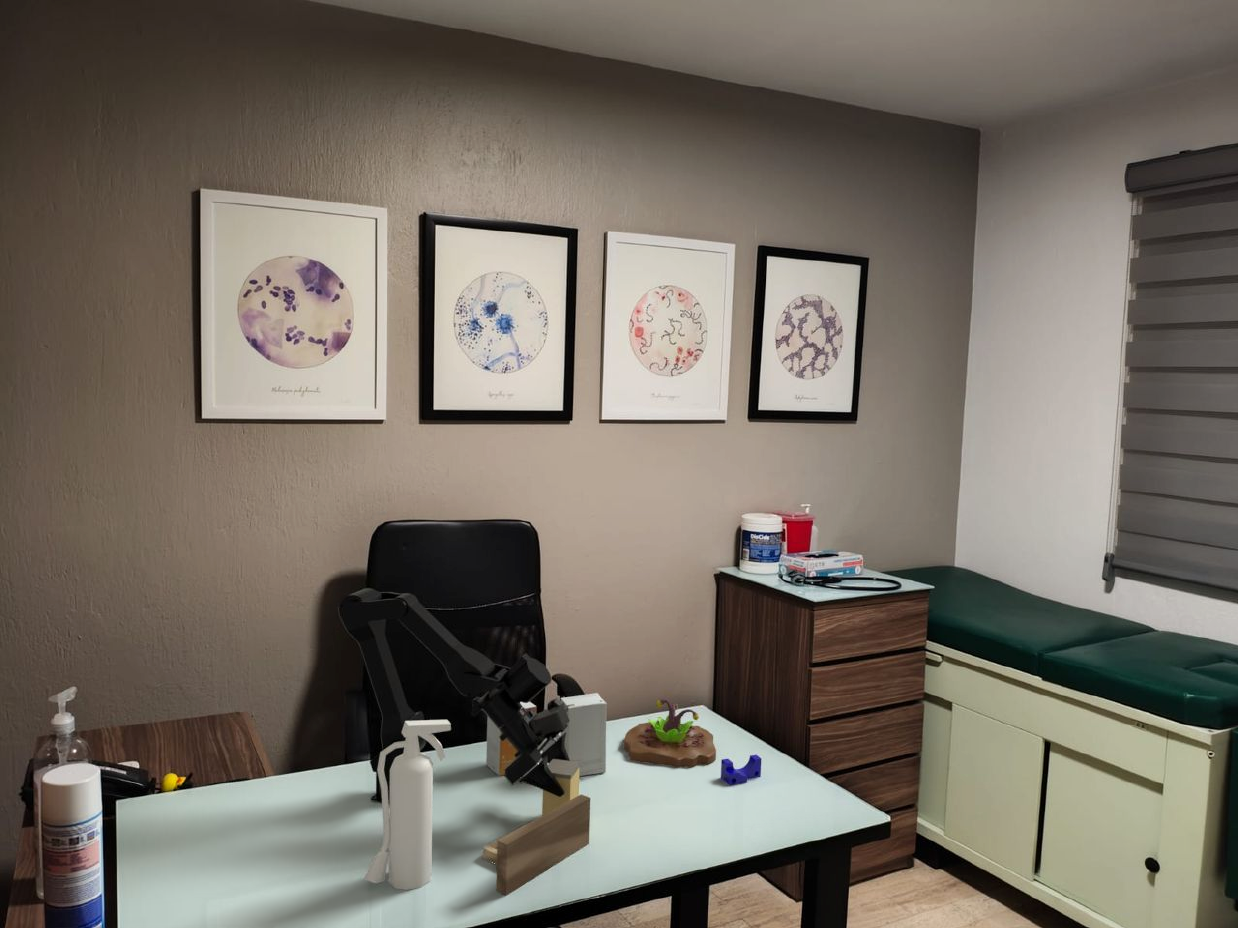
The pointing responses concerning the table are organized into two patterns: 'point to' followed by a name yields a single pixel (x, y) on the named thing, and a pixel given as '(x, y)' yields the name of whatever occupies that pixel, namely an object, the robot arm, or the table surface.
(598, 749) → the skincare box
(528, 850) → the wall board
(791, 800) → the table surface
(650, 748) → the plant
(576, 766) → the grey-topped square block
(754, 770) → the cable holder
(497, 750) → the small box
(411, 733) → the fire extinguisher
